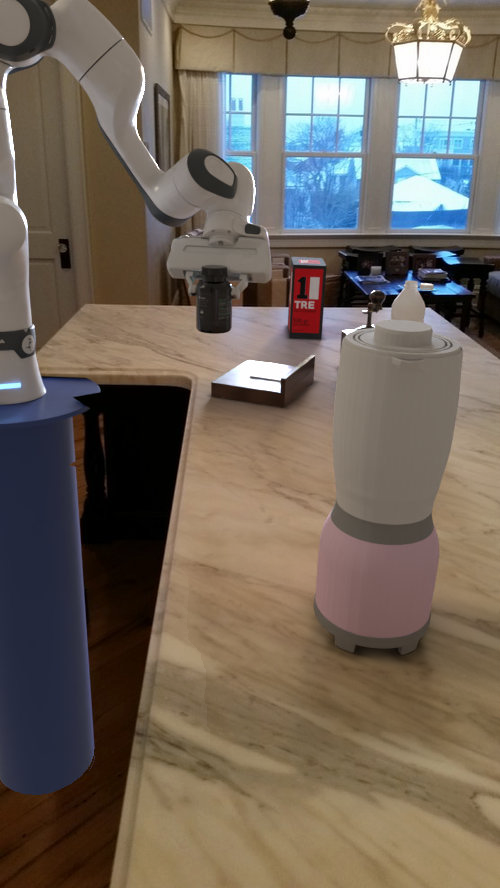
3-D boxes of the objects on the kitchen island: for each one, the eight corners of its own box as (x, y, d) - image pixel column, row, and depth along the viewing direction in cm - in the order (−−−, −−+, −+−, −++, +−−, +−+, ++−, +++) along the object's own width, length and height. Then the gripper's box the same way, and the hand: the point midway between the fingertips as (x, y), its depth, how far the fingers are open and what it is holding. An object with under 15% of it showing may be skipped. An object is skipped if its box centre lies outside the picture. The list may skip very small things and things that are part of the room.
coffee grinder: (395, 380, 160) (404, 301, 154) (348, 380, 159) (355, 300, 152) (376, 362, 175) (384, 288, 168) (333, 362, 173) (338, 288, 167)
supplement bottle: (189, 328, 136) (189, 265, 132) (218, 324, 140) (219, 263, 136) (209, 335, 131) (209, 270, 127) (238, 331, 135) (240, 267, 131)
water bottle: (374, 401, 145) (387, 278, 136) (398, 397, 148) (413, 277, 139) (402, 414, 138) (418, 286, 129) (427, 410, 141) (444, 284, 132)
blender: (440, 662, 69) (492, 344, 58) (316, 657, 70) (343, 339, 58) (410, 575, 84) (447, 307, 72) (308, 571, 84) (328, 303, 72)
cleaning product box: (287, 325, 210) (291, 256, 203) (317, 326, 210) (322, 257, 203) (289, 338, 195) (293, 264, 188) (321, 339, 195) (326, 265, 188)
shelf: (211, 396, 145) (211, 368, 143) (247, 372, 163) (248, 346, 160) (284, 407, 140) (285, 378, 138) (313, 381, 157) (315, 355, 155)
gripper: (170, 224, 137) (156, 283, 131) (274, 228, 134) (265, 289, 128) (176, 245, 142) (164, 302, 137) (277, 250, 139) (267, 308, 134)
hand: (213, 296), depth 133 cm, fingers closed on supplement bottle, 7 cm apart
